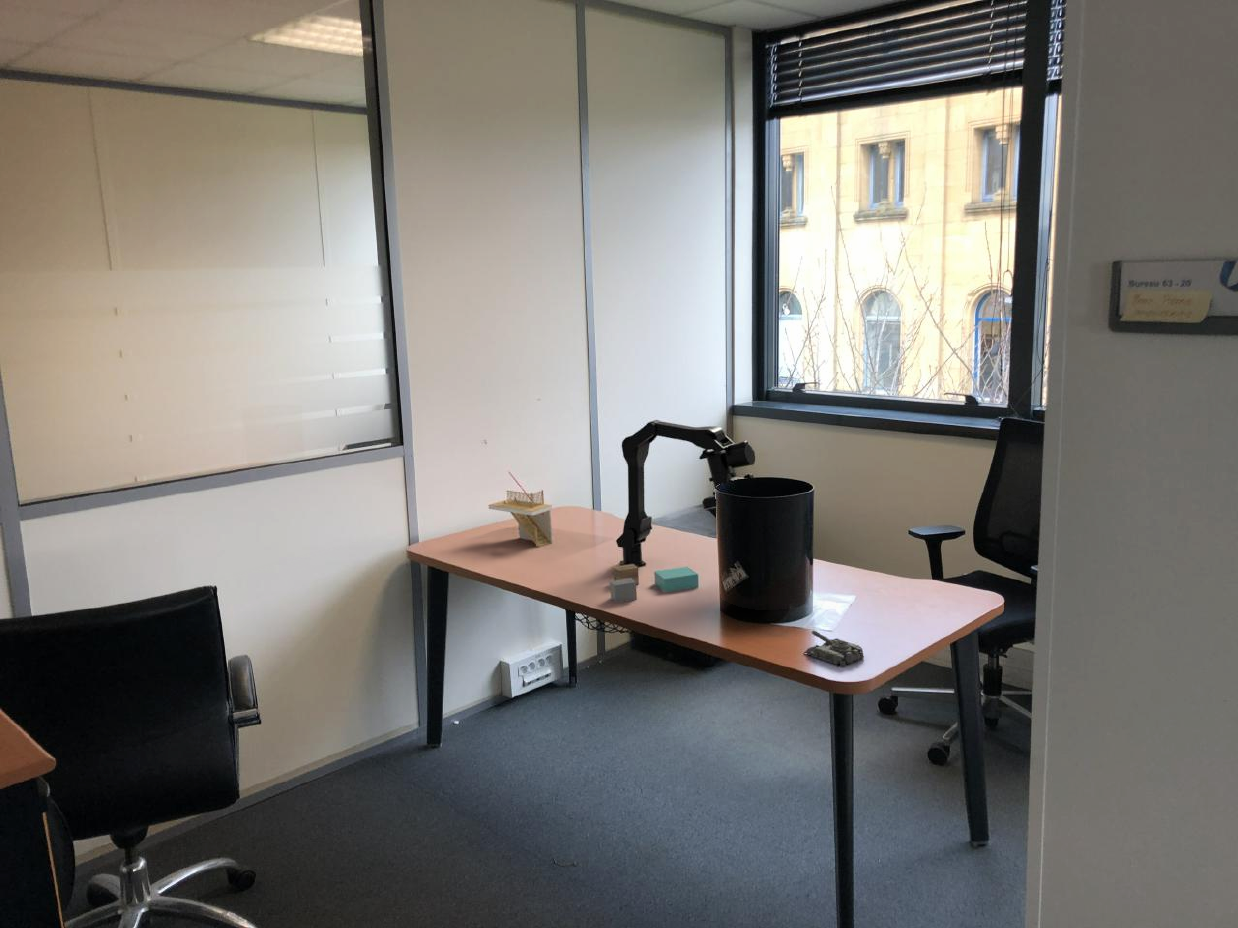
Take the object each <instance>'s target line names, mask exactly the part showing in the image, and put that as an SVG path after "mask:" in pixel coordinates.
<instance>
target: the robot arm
mask: <svg viewBox="0 0 1238 928" xmlns="http://www.w3.org/2000/svg"><path fill="white" fill-rule="evenodd" d="M657 437H663V438H667V439H673V440H678V441H679V440H680V441H684V442H689V443H692V444H693V445H694V446H695V447H697V448H699V449H700V448H701V449H703V450H702V453H701V455H700V456H699V460H705V459H706V460H707V464H708V468H709V472H710V475H711V477H709V478H708V480H709V482H710V483H711V482H712V484H713V488H714V490H715V489H716V486H717V485H719V484H722V483H726V482H731V481H734V480H737V479H744V478H754V479H755V476H754V474H753V473H745V474H744V476H740V477H739V476H737V473H736V472H735V471H732V469H739V468H743V467H748V466H753V465H754V464H755V461H756V453H755V450H754V449H753V447H752V446H751V445H750V444H749V442H748V440H744V441H741V442H738V443H737V442H736V443H735V442H734V441H733V440H732V439H731V438H729V437H728V436H727V435H726V433H725V432H724V430H723V428H722V427H720V426H718V425H717V426H715V425H714V426H713V425H712V426H711V425H709V426H696V427H695V426H689V425H683V424H678V423H674V422H673V423H672V422H667V421H662V420H659V419H654V420H652V421H648V422H647V423H646V424H645V425H644V426H643V427H641V428H640V429H639V430H637V431H636V432H635V433H633V434H632V435H629V436H627V437H625V438H624V439H623V440H622V441H621V450H622V455H623V459H624V461H625V463H626V465H627V493H628V495H627V496H628V498H627V499H628V501H627V502H628V503H627V505H628V509H627V510H628V511H627V515H626V516H625V520H624V522H623V529H622V533H621V535H619V537H618V538H617V539H616V541H615V542H616V545H617V547H618V548H620V549H621V548H622V560H619V564H620V565H621V566H623V565H629V564H634V565H635V566H637V567H641V566H646V565H647V563H646V562H645V561H644V560H643V553H642V552H643V551H642V543H645V542H646V540H647V538H648V536H649V535H650V534H651V530H652V529H653V527H652V520H653V517H652V516H650V515H649V516H648V515H647V513H646V510H645V462H646V461H647V458H648V455H649V451H650V445H651V443H652V442H654V440H656V438H657ZM731 468H732V469H731ZM701 504H702V507H703V510H706V511H707V512H709V513H710V514H711V515H712V516H713V517H714V518H715V519H716V499H715V491H713V492H712V495H709V496H707V497H704V498H703V500H702V502H701Z"/></svg>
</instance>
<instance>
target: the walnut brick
mask: <svg viewBox="0 0 1238 928" xmlns="http://www.w3.org/2000/svg"><path fill="white" fill-rule="evenodd" d="M627 578H632V579H633V580H634V581H635V582H636V586H637V585H640V582H639V579H640V578H639V566H635V565H634V564H629V565H618V566H617V565H616V566H613V581H614V580H621V579H627Z"/></svg>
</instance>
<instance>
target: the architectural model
mask: <svg viewBox="0 0 1238 928" xmlns="http://www.w3.org/2000/svg"><path fill="white" fill-rule="evenodd" d="M508 474H509V475H510V476H511V477H512V479H513V480H514V481H515V482H516V484H517V485H518V486H519V487H520V489H521V490H522V491H523V492H520V491H512V490H506V493H507V495H506V497H507V498H506V499H505V500H500V501H498V502H494V503H491V504H488V509H489V510H495V511H501V512H507V513H510V514H511V515H512V517H513V519H515V520H516V522H517V523H518V531H519V532H518V533H519V534H518V535H519V539H521V538H522V540H528V541H532V542H533V543H534V544H535V548H542V547H545V546H548V545H553V544H552V543H553V542H554V541H553V530H552V529H553V528H552V514H551V513H552V510H553V505H552V504H548V503H545V500H544V499H545V498H544V490H543V489H542V490H541V491H538V492H534V493H533V492H531V493H527V492H526V491H525V490H524V488H523V487H522V485H520V483H519V482H518V481H517V479H516V478H515V477H514V476H513V474H512V473H511V472H510V471H508Z"/></svg>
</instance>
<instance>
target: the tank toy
mask: <svg viewBox="0 0 1238 928" xmlns="http://www.w3.org/2000/svg"><path fill="white" fill-rule="evenodd" d="M811 634H812V635H813V636H814V637H817V638H819V639H820V640H822V641H823V642H824V643H823V644H822V645H818V644H815V646H811V647H810V646H809V647H808V648H807V649H806V650H805V651H804V652H803V654H804V653H807V654H808V655H807V656H809V655H811V656H810V657H812V658H816V659H818V660H822V661H825V662H827V663H829V664H834V665H835V666H836V665H837V666H838V665H839V666H838V668H840V667H842V668H843V667H846V665H847V664H849V665H850V664H852V663H853V662H857V661H859V660H863V659H864V657H865V655H864V651H863V648H862V647H861V646H860V645H858V644H855V643H852V642H849V641H846V640H843V639H839V638H838V637H837V638H834V639H830V638H828V637H827V636H825V635H823V634H821V633H820V632H818V631H817V630H814V629H813V630H812V631H811Z"/></svg>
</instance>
